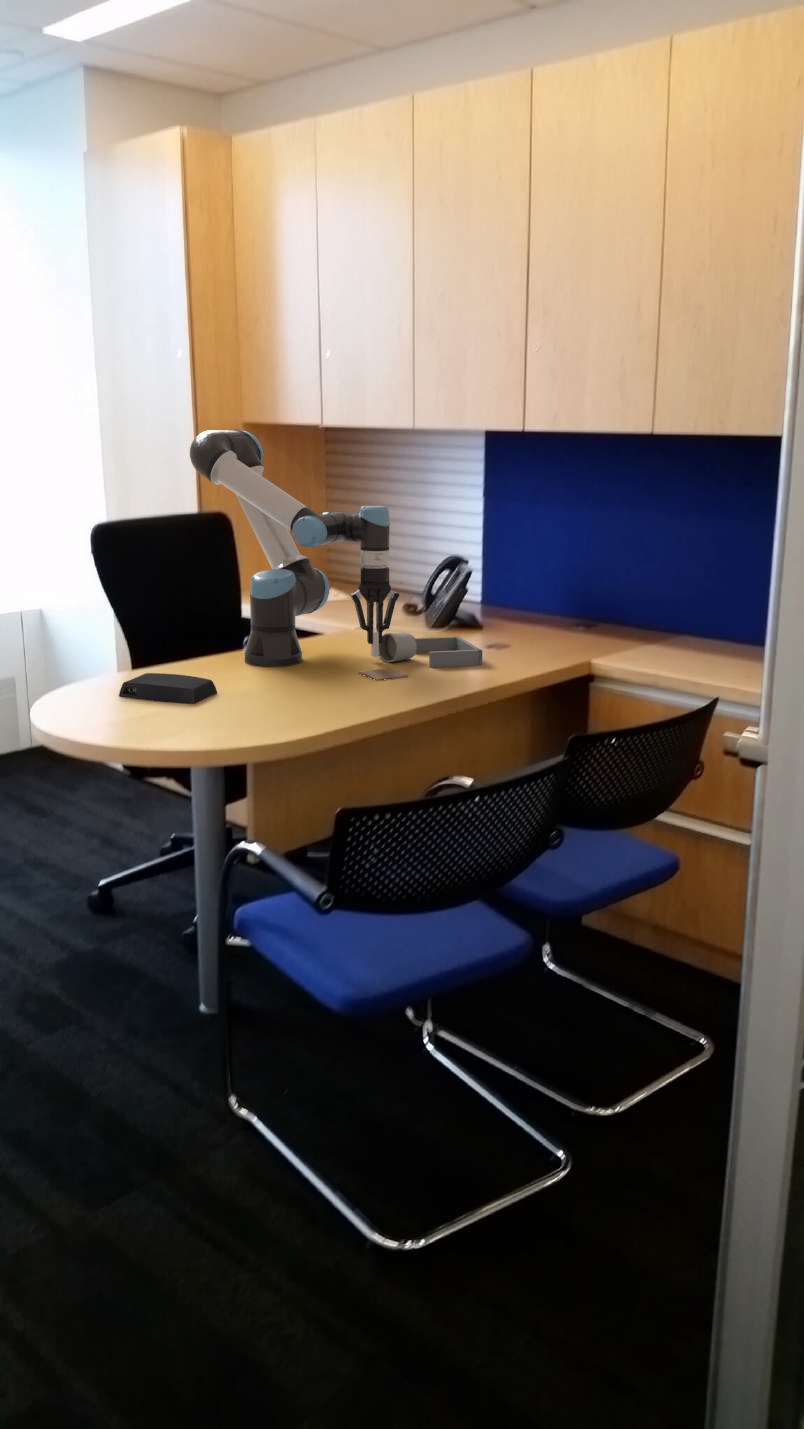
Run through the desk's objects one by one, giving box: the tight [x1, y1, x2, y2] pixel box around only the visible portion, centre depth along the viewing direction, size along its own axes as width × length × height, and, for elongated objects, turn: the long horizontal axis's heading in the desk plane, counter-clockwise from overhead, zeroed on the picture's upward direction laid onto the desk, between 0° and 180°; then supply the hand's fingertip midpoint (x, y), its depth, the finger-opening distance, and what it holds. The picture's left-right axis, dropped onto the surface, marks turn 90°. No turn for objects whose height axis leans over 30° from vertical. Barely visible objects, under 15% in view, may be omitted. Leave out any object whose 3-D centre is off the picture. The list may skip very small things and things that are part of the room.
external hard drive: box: [118, 672, 218, 705], centre depth 264 cm, size 13×19×4 cm
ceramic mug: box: [378, 632, 417, 663], centre depth 305 cm, size 11×8×8 cm
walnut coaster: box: [358, 668, 408, 681], centre depth 288 cm, size 9×9×1 cm
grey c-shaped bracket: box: [414, 636, 483, 668], centre depth 308 cm, size 14×19×4 cm
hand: (374, 655), depth 302 cm, fingers closed
